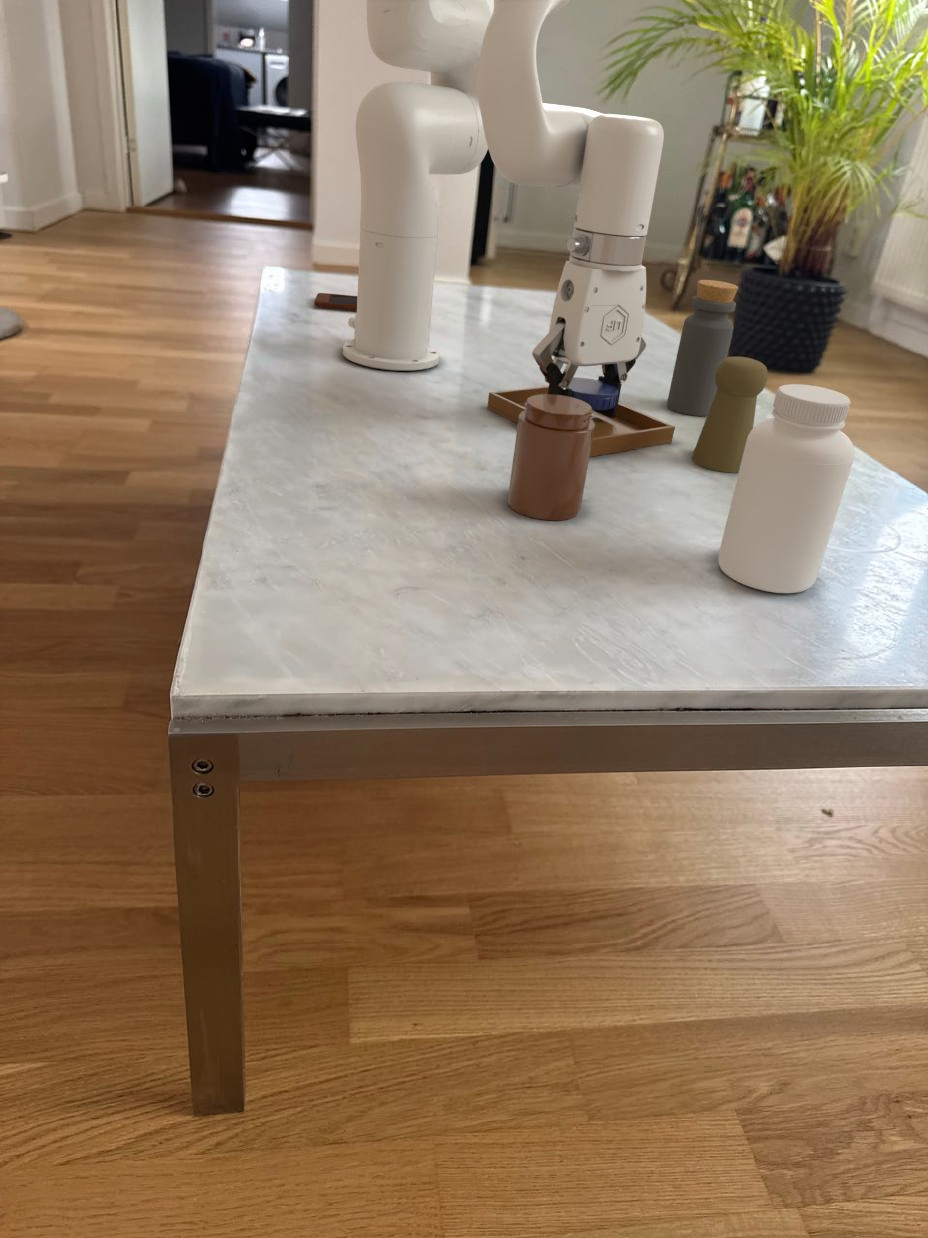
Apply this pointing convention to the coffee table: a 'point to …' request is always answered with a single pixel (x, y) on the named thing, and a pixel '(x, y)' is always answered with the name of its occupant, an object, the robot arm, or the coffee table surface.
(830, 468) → the pill bottle
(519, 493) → the jar
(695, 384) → the bottle
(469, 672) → the coffee table surface
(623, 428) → the tray
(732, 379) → the olive pepper mill
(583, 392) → the lid
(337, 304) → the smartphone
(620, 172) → the robot arm
